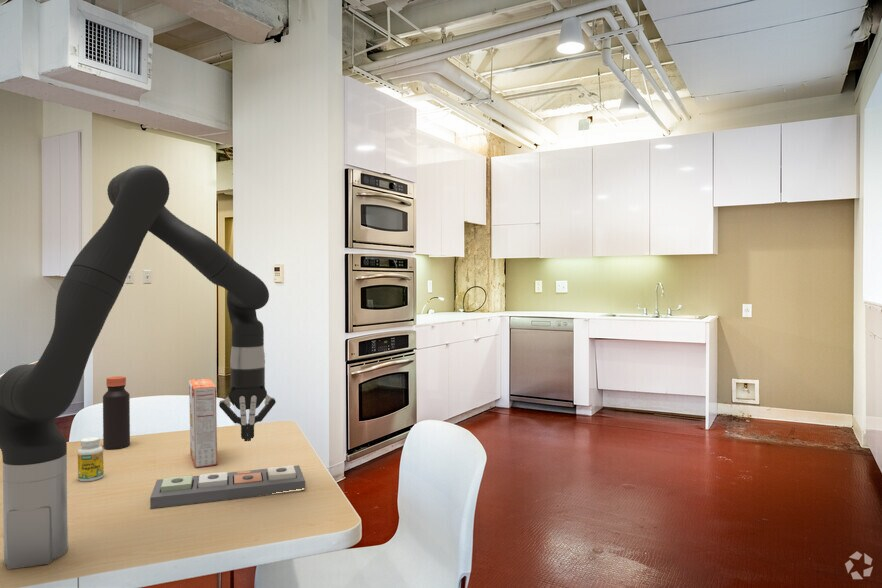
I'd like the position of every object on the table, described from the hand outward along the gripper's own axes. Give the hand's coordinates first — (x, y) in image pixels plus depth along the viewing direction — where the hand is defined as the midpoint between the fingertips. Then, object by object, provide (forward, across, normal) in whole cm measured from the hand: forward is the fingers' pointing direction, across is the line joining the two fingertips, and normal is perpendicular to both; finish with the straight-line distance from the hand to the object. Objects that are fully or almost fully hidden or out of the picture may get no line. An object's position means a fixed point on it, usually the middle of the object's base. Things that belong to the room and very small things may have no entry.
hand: (247, 440), depth 136 cm
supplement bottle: (+12, -36, +20) cm, 43 cm away
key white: (+10, -7, 0) cm, 12 cm away
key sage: (+10, -15, 0) cm, 18 cm away
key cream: (+10, +8, 0) cm, 12 cm away
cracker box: (+11, -11, +27) cm, 31 cm away
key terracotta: (+11, 0, 0) cm, 11 cm away
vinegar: (+11, -35, +49) cm, 61 cm away
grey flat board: (+11, -4, 0) cm, 12 cm away
